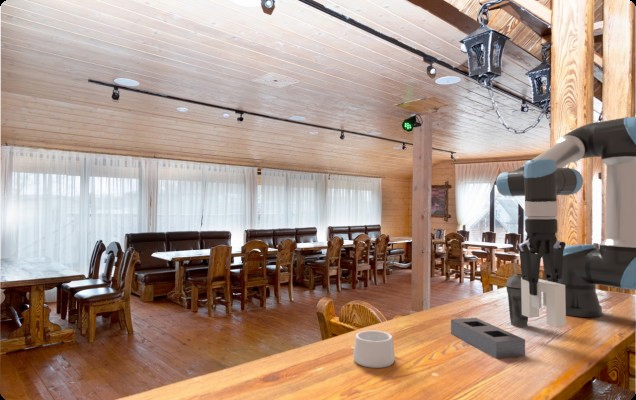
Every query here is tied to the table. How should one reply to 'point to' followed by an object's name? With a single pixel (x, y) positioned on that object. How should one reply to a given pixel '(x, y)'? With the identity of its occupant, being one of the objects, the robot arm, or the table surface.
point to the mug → (373, 349)
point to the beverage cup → (515, 300)
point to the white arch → (553, 302)
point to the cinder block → (488, 338)
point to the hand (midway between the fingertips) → (542, 306)
